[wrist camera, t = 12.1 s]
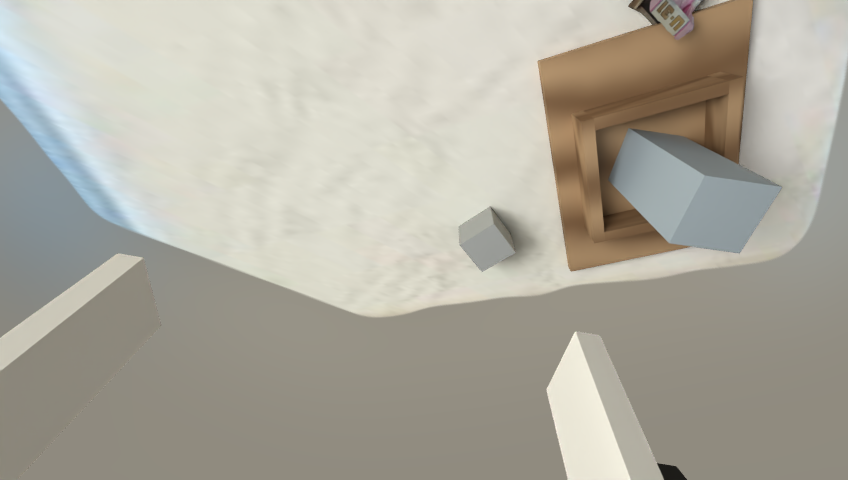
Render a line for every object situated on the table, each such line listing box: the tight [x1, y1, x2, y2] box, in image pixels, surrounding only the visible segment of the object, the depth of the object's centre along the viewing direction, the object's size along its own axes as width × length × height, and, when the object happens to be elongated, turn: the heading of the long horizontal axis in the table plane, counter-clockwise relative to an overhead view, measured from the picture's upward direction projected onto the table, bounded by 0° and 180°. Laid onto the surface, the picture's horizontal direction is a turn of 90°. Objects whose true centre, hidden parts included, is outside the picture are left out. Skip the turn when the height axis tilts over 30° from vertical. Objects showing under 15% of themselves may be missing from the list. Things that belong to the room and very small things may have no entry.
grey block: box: [459, 207, 516, 272], centre depth 40 cm, size 4×4×4 cm
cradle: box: [538, 0, 753, 271], centre depth 35 cm, size 22×16×4 cm
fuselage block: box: [608, 128, 782, 253], centre depth 31 cm, size 5×5×12 cm
